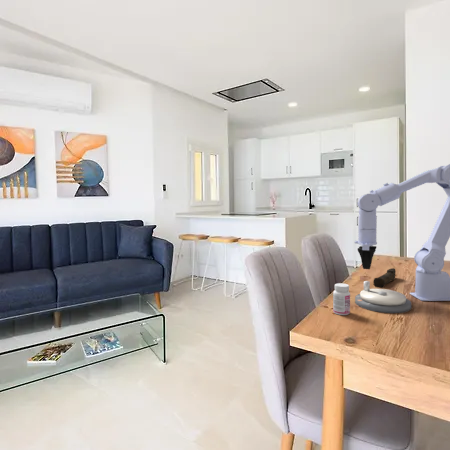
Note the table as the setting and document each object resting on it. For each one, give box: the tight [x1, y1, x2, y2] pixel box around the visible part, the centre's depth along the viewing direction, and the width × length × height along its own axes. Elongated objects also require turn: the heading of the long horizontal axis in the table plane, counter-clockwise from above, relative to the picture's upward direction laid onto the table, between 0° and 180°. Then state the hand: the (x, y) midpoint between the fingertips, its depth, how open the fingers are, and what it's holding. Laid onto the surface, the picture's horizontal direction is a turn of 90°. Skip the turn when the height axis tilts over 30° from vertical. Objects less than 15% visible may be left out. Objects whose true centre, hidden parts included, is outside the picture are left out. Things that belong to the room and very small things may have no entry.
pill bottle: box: [332, 282, 351, 316], centre depth 95 cm, size 5×5×8 cm
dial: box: [359, 280, 407, 306], centre depth 102 cm, size 13×13×4 cm
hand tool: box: [373, 268, 397, 289], centre depth 127 cm, size 19×4×5 cm, turn 134°
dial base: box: [354, 293, 412, 314], centre depth 102 cm, size 16×16×2 cm
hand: (366, 267), depth 112 cm, fingers open, 4 cm apart
